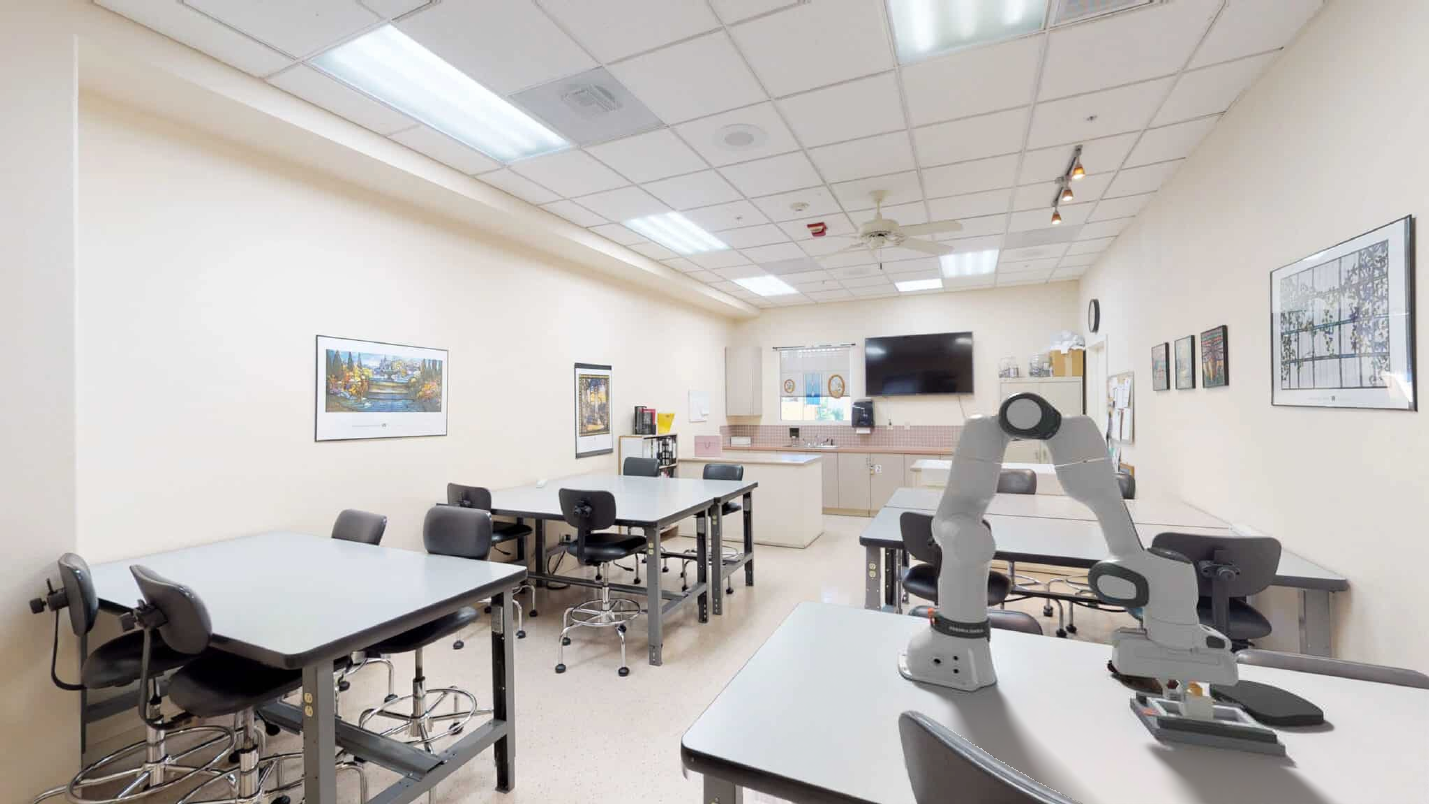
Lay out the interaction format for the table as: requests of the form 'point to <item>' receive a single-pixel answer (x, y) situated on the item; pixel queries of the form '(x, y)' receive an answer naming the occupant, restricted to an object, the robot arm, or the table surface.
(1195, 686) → the toggle
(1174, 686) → the dark brown lumpy rod
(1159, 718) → the panel
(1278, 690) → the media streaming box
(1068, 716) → the table surface
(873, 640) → the table surface
